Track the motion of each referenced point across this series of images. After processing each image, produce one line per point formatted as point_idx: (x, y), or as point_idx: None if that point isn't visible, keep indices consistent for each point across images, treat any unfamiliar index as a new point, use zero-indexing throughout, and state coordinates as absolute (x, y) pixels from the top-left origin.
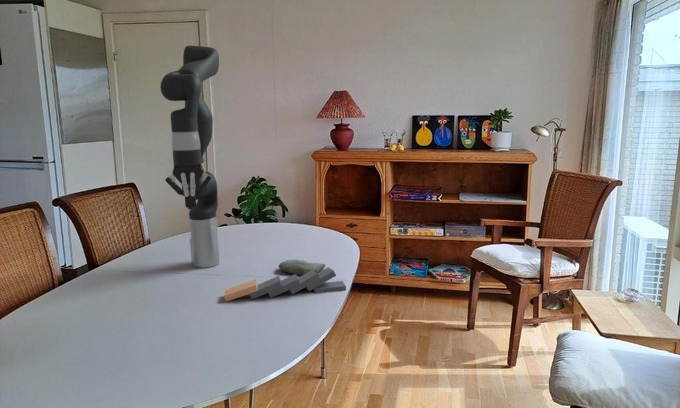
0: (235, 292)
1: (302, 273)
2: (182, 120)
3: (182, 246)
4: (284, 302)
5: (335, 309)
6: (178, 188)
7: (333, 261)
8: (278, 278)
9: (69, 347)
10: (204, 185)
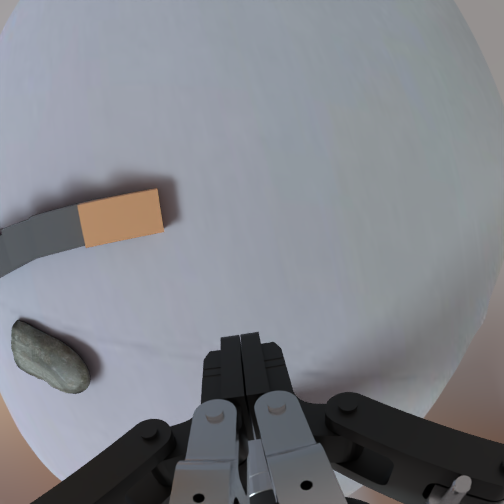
0: (128, 194)
1: (36, 330)
2: None
3: None
4: (37, 180)
5: None
6: (372, 438)
7: (21, 390)
8: (35, 239)
9: (407, 20)
10: (84, 479)
